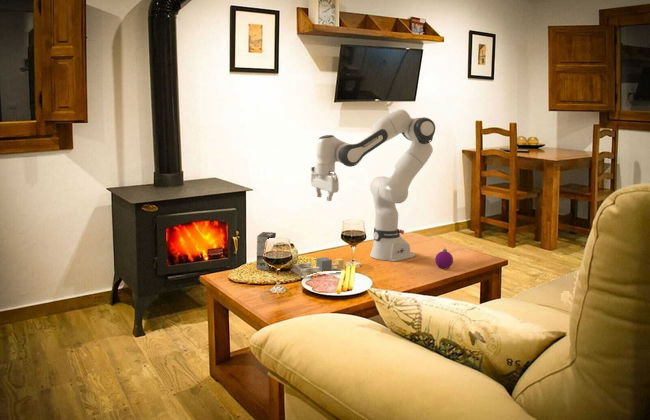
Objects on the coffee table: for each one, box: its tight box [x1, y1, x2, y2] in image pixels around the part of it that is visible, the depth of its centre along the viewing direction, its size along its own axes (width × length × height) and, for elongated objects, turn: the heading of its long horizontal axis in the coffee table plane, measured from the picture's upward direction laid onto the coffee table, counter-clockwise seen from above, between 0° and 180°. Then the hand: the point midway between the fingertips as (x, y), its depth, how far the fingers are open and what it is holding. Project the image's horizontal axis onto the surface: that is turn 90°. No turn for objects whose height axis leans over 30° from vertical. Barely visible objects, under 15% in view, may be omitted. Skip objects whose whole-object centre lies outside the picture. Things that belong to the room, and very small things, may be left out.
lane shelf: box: [289, 261, 346, 279], centre depth 270 cm, size 26×13×4 cm, turn 120°
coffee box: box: [256, 231, 277, 271], centre depth 271 cm, size 9×6×16 cm
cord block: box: [315, 256, 345, 271], centre depth 272 cm, size 12×5×5 cm, turn 120°
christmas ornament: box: [434, 247, 454, 269], centre depth 283 cm, size 8×8×10 cm
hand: (324, 198), depth 286 cm, fingers open, 8 cm apart
